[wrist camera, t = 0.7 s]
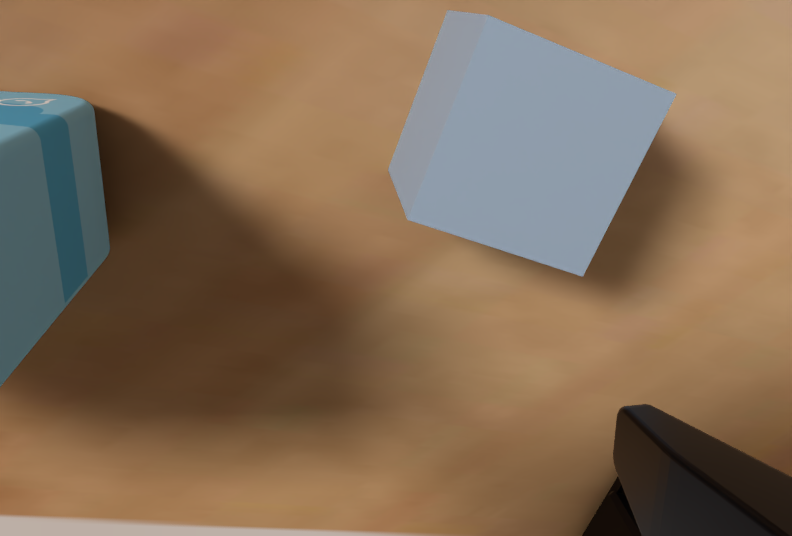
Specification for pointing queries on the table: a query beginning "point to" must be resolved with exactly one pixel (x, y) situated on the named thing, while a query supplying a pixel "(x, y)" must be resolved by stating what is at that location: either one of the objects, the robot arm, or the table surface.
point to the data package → (46, 214)
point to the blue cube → (522, 142)
